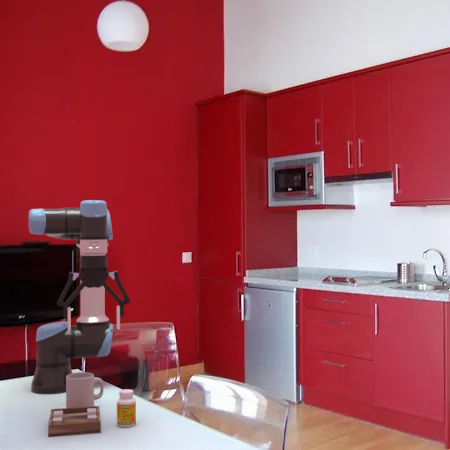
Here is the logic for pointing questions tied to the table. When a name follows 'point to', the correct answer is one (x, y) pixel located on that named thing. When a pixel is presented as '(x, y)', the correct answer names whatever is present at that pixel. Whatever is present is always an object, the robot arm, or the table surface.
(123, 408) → the supplement bottle
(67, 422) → the walled box
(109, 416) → the table surface
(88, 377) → the mug
